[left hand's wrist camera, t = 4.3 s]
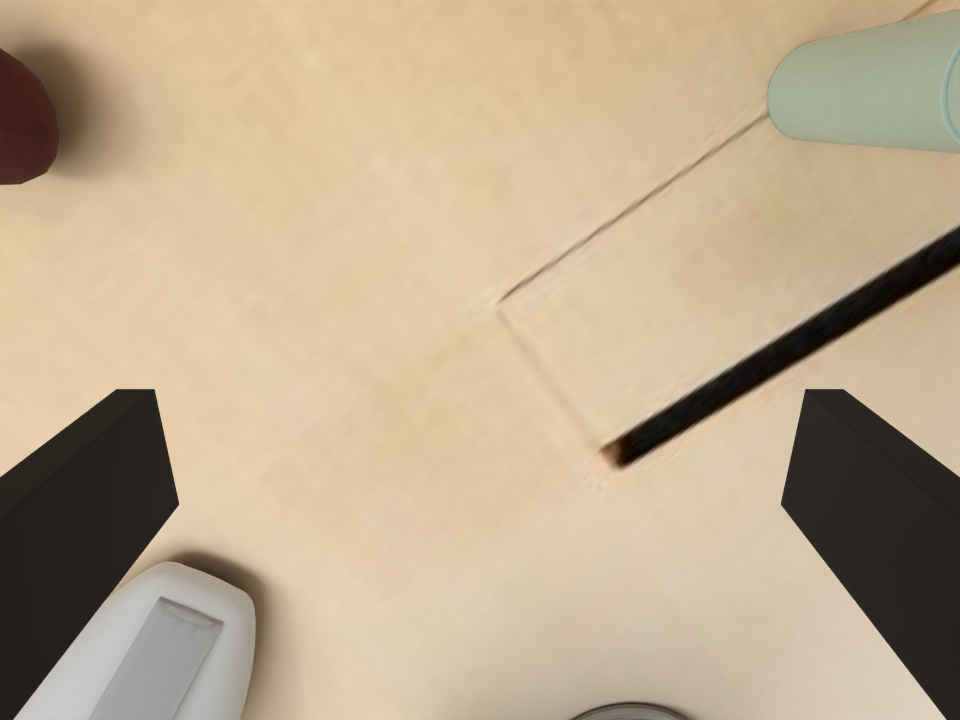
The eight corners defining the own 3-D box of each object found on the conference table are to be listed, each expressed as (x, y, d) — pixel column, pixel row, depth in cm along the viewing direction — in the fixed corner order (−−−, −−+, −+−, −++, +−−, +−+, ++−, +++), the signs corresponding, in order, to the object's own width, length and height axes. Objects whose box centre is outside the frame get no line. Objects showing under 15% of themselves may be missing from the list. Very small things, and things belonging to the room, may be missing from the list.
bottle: (753, 130, 37) (1055, 148, 17) (786, 30, 35) (1168, -74, 15) (838, 148, 37) (1225, 185, 18) (876, 50, 35) (1356, -27, 16)
